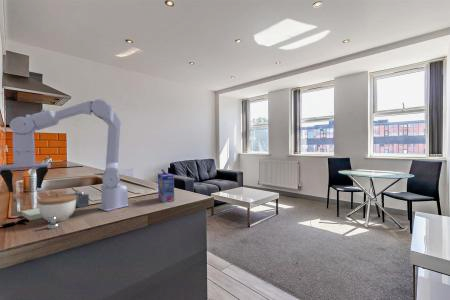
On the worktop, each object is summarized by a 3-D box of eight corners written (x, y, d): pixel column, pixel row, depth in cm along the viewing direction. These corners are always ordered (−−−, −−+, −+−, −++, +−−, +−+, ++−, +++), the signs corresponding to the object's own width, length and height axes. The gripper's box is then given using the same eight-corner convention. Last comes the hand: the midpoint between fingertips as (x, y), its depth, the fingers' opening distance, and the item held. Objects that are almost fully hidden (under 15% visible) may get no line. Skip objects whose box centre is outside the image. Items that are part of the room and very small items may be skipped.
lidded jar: (35, 219, 77) (35, 193, 77) (71, 212, 85) (71, 188, 85) (42, 227, 70) (41, 198, 70) (80, 218, 78) (80, 192, 78)
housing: (80, 203, 99) (80, 190, 99) (88, 205, 94) (88, 192, 94) (70, 205, 96) (69, 192, 95) (78, 208, 91) (78, 194, 91)
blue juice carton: (157, 197, 108) (157, 168, 107) (168, 196, 111) (168, 168, 110) (162, 202, 99) (162, 170, 99) (174, 200, 102) (174, 170, 102)
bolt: (56, 225, 72) (56, 214, 72) (60, 227, 70) (60, 216, 70) (45, 227, 70) (45, 217, 69) (49, 230, 68) (48, 219, 68)
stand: (44, 210, 87) (44, 206, 87) (53, 214, 82) (53, 210, 82) (21, 215, 82) (21, 211, 82) (30, 220, 76) (29, 215, 76)
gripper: (45, 151, 86) (46, 185, 86) (-8, 152, 74) (-7, 192, 74) (52, 151, 82) (53, 187, 82) (-3, 152, 70) (-2, 194, 70)
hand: (25, 189), depth 78 cm, fingers open, 7 cm apart
